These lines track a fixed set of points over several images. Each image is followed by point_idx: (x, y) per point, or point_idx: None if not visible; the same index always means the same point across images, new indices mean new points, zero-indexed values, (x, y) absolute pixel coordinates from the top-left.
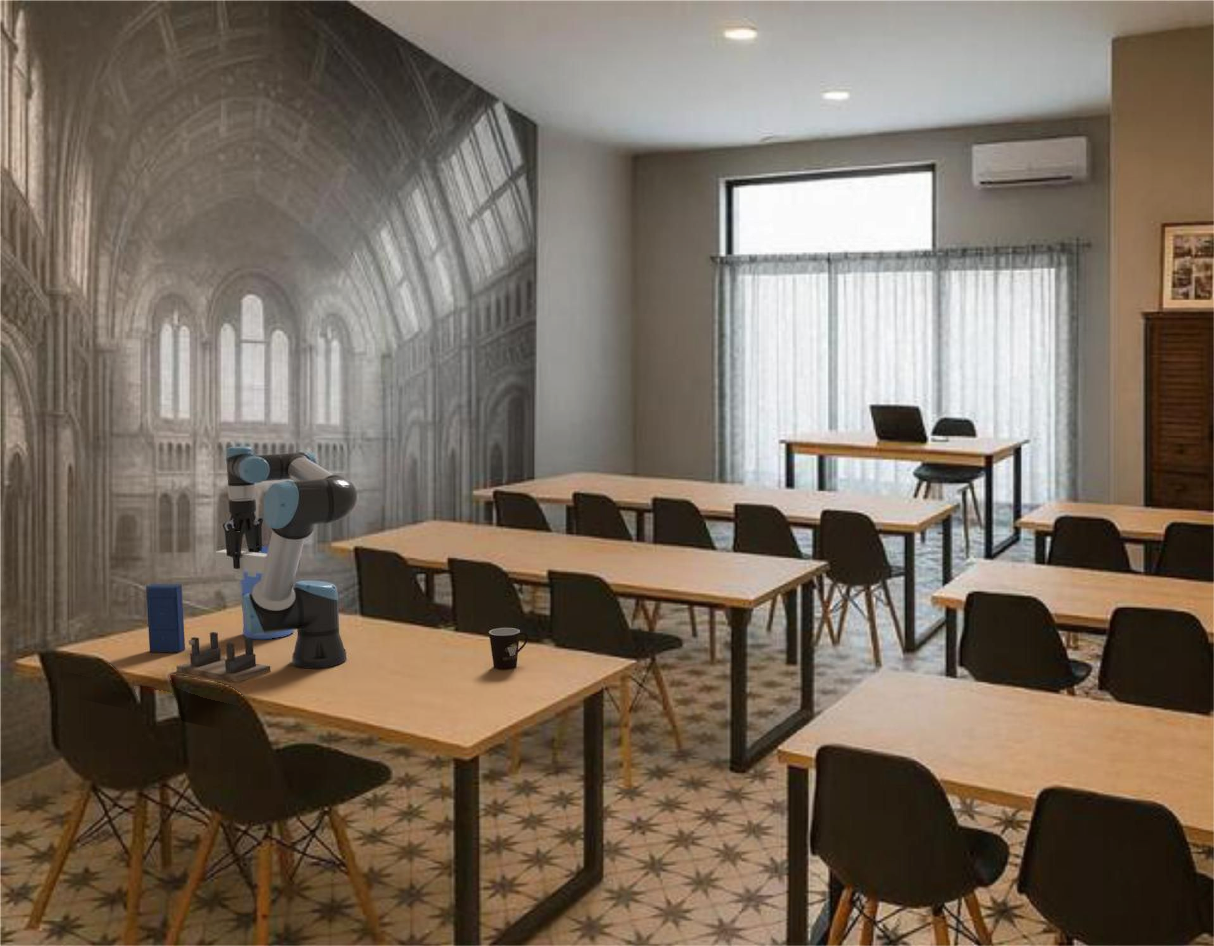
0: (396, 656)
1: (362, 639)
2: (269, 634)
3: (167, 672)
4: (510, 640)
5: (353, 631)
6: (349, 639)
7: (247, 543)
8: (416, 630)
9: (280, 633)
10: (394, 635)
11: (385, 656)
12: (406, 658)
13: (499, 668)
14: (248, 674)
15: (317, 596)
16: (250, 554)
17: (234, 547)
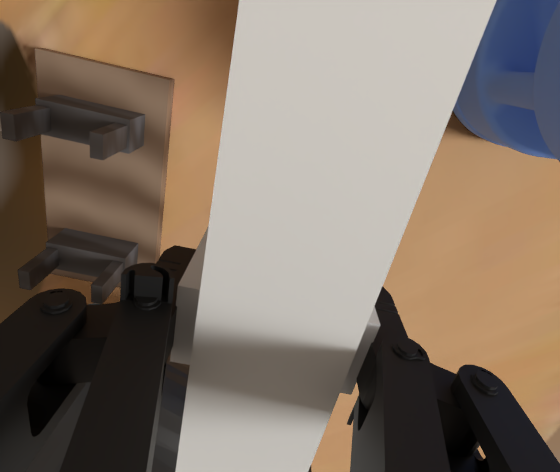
0: (333, 437)
1: (463, 339)
2: (454, 108)
3: (22, 25)
4: None
5: (551, 287)
6: (462, 313)
7: (379, 452)
8: (552, 403)
9: (476, 134)
10: (504, 382)
11: (329, 423)
12: (323, 453)
13: None
14: (86, 279)
15: None
16: (212, 446)
17: (14, 464)
